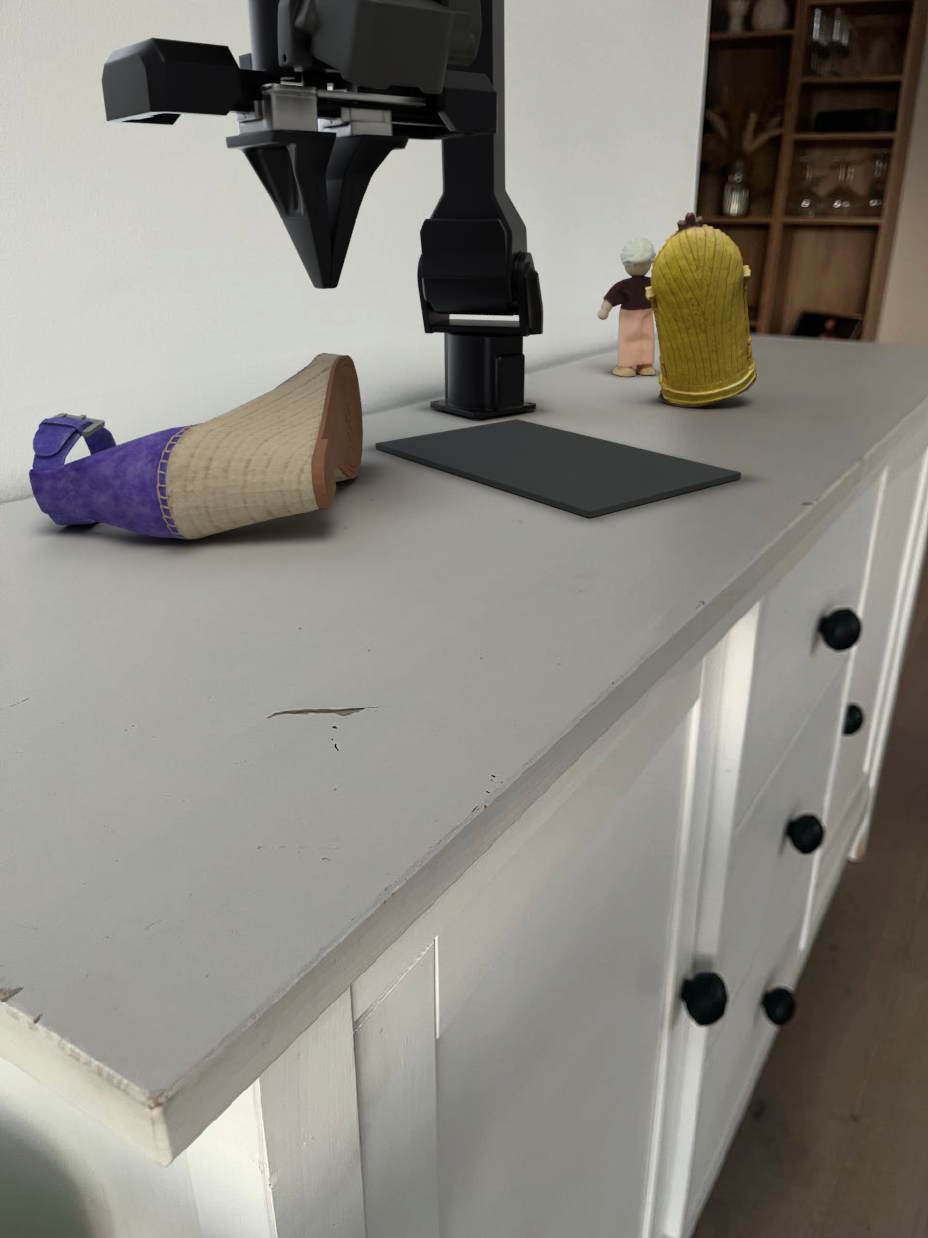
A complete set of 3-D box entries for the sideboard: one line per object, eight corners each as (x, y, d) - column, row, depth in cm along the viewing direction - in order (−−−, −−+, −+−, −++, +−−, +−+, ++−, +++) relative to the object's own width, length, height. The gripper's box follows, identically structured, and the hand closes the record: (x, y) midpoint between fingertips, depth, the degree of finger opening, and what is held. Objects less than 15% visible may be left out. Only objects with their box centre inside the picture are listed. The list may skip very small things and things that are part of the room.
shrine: (725, 423, 75) (747, 211, 69) (626, 413, 78) (638, 212, 72) (763, 398, 84) (784, 210, 78) (672, 391, 88) (686, 210, 82)
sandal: (351, 313, 61) (116, 328, 61) (315, 445, 44) (-7, 465, 45) (367, 434, 65) (147, 447, 66) (339, 593, 49) (47, 610, 49)
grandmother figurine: (651, 368, 100) (660, 236, 95) (673, 373, 96) (684, 236, 91) (587, 374, 97) (592, 237, 92) (608, 379, 93) (615, 238, 88)
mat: (375, 448, 67) (375, 442, 67) (516, 423, 75) (516, 418, 74) (589, 518, 52) (590, 511, 52) (740, 478, 59) (741, 472, 59)
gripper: (183, -179, 32) (228, 308, 38) (580, -81, 43) (566, 288, 49) (73, -100, 41) (124, 293, 46) (430, -34, 51) (434, 278, 57)
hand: (325, 288), depth 50 cm, fingers closed
